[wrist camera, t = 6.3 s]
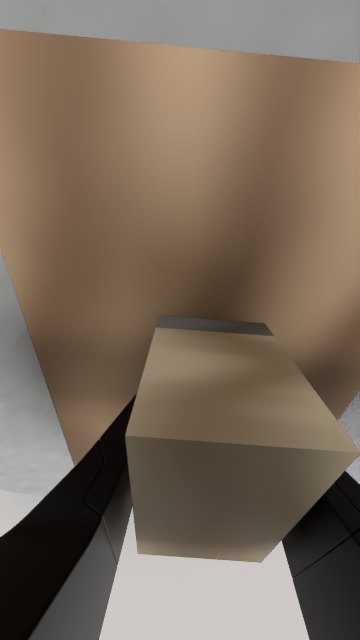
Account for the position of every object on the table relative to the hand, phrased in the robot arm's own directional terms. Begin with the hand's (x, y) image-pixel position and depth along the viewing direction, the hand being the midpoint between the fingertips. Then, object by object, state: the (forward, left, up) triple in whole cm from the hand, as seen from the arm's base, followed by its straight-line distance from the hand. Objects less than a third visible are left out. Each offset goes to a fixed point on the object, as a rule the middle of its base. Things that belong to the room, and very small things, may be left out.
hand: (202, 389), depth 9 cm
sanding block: (0, 0, 0) cm, 1 cm away
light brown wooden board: (0, 0, -2) cm, 2 cm away
